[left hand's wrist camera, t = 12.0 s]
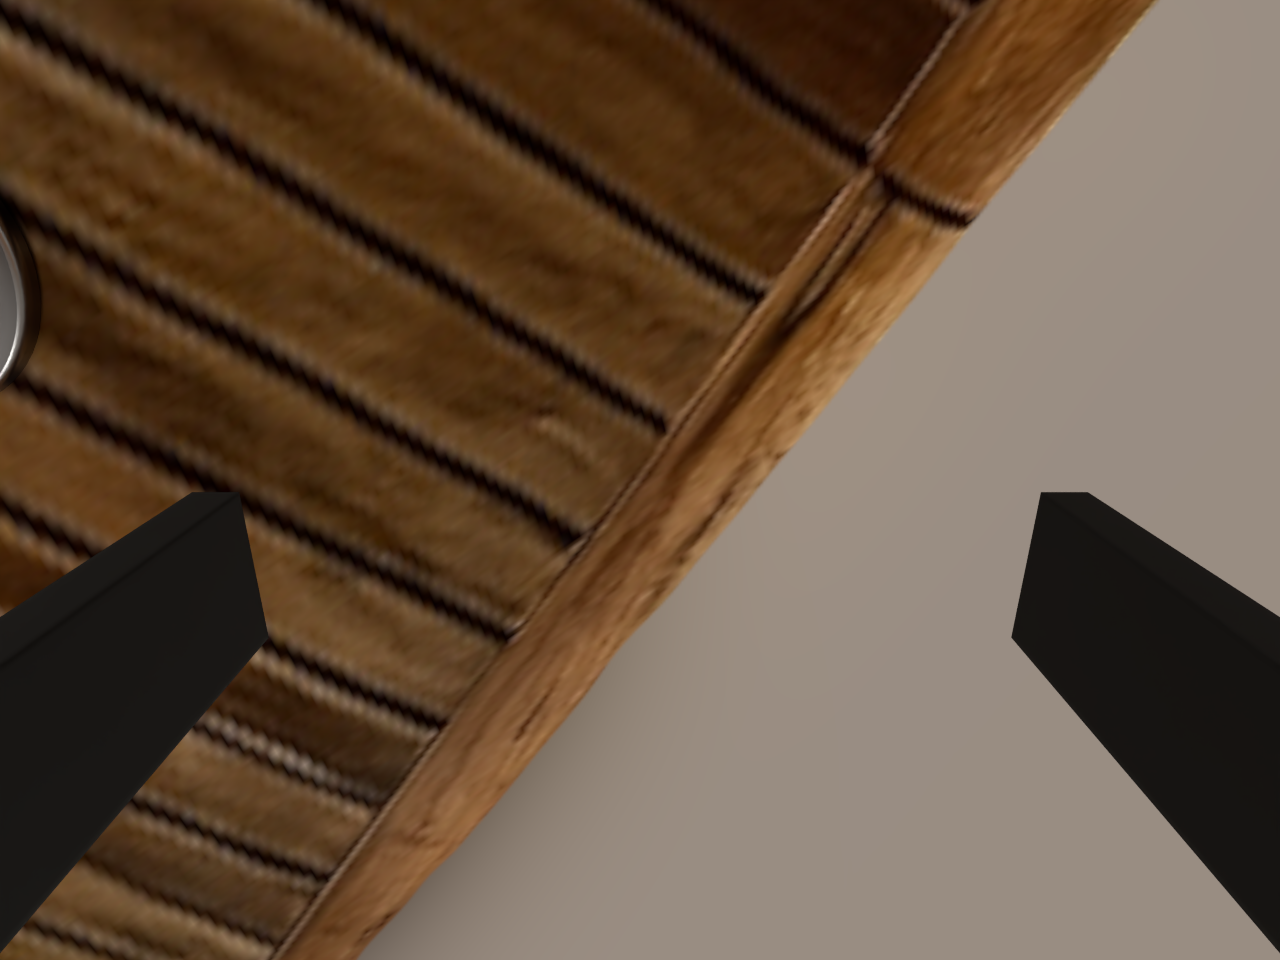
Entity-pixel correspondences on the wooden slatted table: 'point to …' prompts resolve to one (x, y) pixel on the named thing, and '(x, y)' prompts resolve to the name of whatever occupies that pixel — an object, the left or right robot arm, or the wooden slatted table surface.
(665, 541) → the wooden slatted table surface
